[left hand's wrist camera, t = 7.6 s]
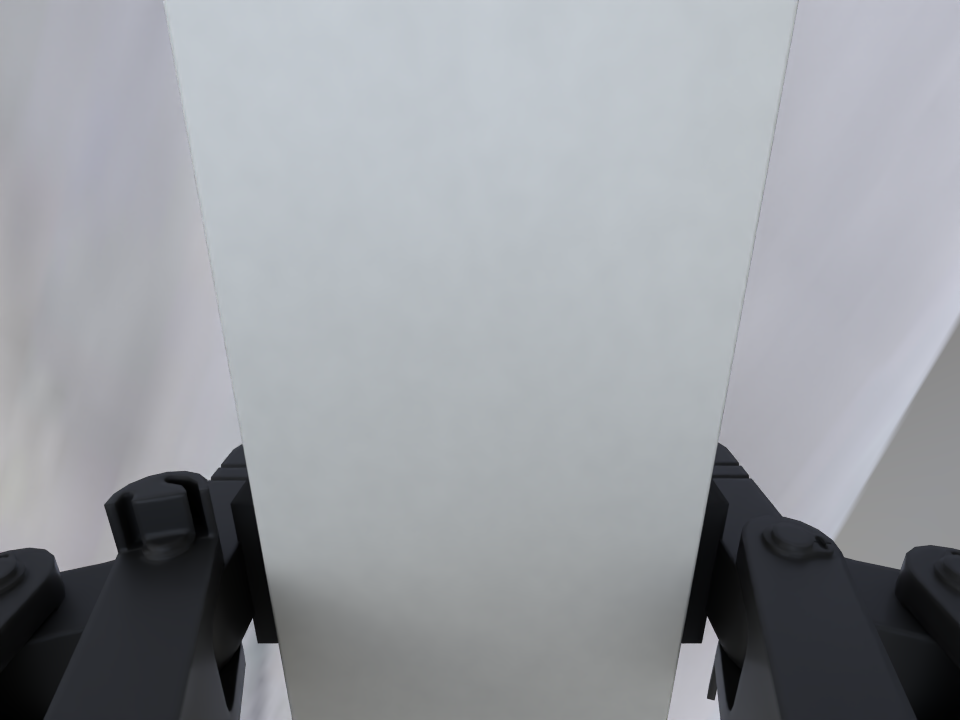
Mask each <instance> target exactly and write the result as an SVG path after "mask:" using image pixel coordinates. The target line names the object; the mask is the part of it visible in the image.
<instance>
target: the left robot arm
mask: <svg viewBox="0 0 960 720" xmlns="http://www.w3.org/2000/svg"><path fill="white" fill-rule="evenodd" d="M104 506H105V510H106V513H107V516H108V520H109V523H110V526H111V530H112V533H113V536H114V540H115V543H116V546H117V550H118V555H117V557H116V560H113V561H109V562H106V563H101V564H97V565H92V566H87V567H82V568H77V569H73V570H68V571H63V572H59V569H58V566H57V563H56V560H55V557H54V555H52V554H51V553H49V552H48V551H47V550H45V549H37V548H24V549H17V550H10V551H6V552H2V553H0V720H240V712H241V702H242V693H243V684H244V675H245V666H246V663H245V656H244V650H243V646H242V639H243V637H244V635H245V633H246V631H247V629H248V627H249V624H250V622H251V620H252V618H253V621H254V626H255V631H256V636H257V641H258V643H278V637H277V632H276V626H275V621H274V615H273V609H272V604H271V598H270V593H269V587H268V582H267V576H266V571H265V565H264V559H263V554H262V548H261V543H260V537H259V532H258V526H257V521H256V515H255V509H254V504H253V498H252V493H251V487H250V482H249V476H248V470H247V465H246V459H245V454H244V448H243V444H242V445H240V446H238V447H237V448H235V449H234V450H233V451H232V452H231V453H230V454H229V456H228V457H227V458H226V459H225V461H224V462H223V463H222V464H221V468H218V469H217V471H216V472H215V473H214V474H213V476H212V477H211V480H209V481H207V479H205V478H204V477H203V476H201V475H200V474H198V473H193V472H188V471H175V472H165V473H161V474H156V475H152V476H148V477H145V478H143V479H140V480H138V481H136V482H133V483H131V484H129V485H127V486H125V487H124V488H122V489H121V490H119V491H118V492H116V493H114V494H113V495H112V497H111V498H110V499H109V500H108V501H107V502H106V503H105V504H104ZM707 616H708V618H709V620H710V623H711V625H712V627H713V629H714V631H715V633H716V635H717V637H718V639H719V641H718V646H717V650H716V655H715V660H714V665H713V669H712V674H711V679H710V683H709V689H708V695H707V699H711V700H715V696H716V691H717V692H718V701H719V710H720V719H721V720H960V550H957V549H953V548H947V547H940V546H933V545H928V546H919V547H914V548H913V549H912V550H910V551H909V552H907V553H906V556H905V559H904V561H903V564H902V567H901V570H899V569H894V568H889V567H885V566H880V565H875V564H870V563H865V562H861V561H856V560H852V559H848V558H845V557H844V556H843V554H842V552H841V551H840V549H839V548H838V547H837V545H836V544H835V543H834V541H833V540H832V539H830V538H829V537H828V536H826V535H825V534H824V533H822V532H821V531H819V530H818V529H816V528H814V527H812V526H810V525H807V524H805V523H803V522H801V521H798V520H794V519H790V518H786V517H782V516H781V514H780V513H779V512H778V511H777V509H776V508H775V507H774V506H773V504H772V503H771V502H770V501H769V500H768V498H767V497H766V496H765V495H764V493H763V492H762V491H761V490H760V488H759V487H758V486H757V485H756V484H755V482H754V481H753V480H752V479H751V478H749V475H748V474H747V472H746V471H745V470H744V469H743V467H742V466H739V463H738V461H737V460H736V459H735V458H734V456H733V455H732V454H731V453H730V451H729V450H728V449H727V448H726V447H724V446H723V445H721V444H720V443H718V444H717V450H716V455H715V461H714V466H713V472H712V477H711V483H710V488H709V494H708V499H707V505H706V510H705V516H704V521H703V526H702V532H701V537H700V543H699V548H698V554H697V559H696V565H695V570H694V576H693V581H692V587H691V592H690V598H689V603H688V608H687V614H686V619H685V625H684V630H683V636H682V641H681V643H702V639H703V634H704V629H705V624H706V619H707Z"/></svg>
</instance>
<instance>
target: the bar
mask: <svg viewBox="0 0 960 720" xmlns="http://www.w3.org/2000/svg"><path fill="white" fill-rule="evenodd" d="M798 2H799V0H163V4H164V9H165V15H166V20H167V26H168V31H169V37H170V42H171V48H172V54H173V59H174V65H175V70H176V76H177V81H178V87H179V93H180V98H181V104H182V109H183V115H184V120H185V126H186V131H187V137H188V143H189V148H190V154H191V159H192V165H193V170H194V176H195V181H196V187H197V193H198V198H199V204H200V209H201V215H202V220H203V226H204V231H205V237H206V243H207V248H208V254H209V259H210V265H211V270H212V276H213V281H214V287H215V293H216V298H217V304H218V309H219V315H220V320H221V326H222V332H223V337H224V343H225V348H226V354H227V359H228V365H229V370H230V376H231V382H232V387H233V393H234V398H235V404H236V409H237V415H238V420H239V426H240V432H241V437H242V443H243V448H244V454H245V459H246V465H247V470H248V476H249V482H250V487H251V493H252V498H253V504H254V509H255V515H256V521H257V526H258V532H259V537H260V543H261V548H262V554H263V559H264V565H265V571H266V576H267V582H268V587H269V593H270V598H271V604H272V609H273V615H274V621H275V626H276V632H277V637H278V643H279V648H280V654H281V659H282V665H283V671H284V676H285V682H286V687H287V693H288V698H289V704H290V709H291V715H292V720H667V718H668V712H669V707H670V701H671V696H672V690H673V685H674V680H675V674H676V669H677V663H678V658H679V652H680V647H681V641H682V636H683V630H684V625H685V619H686V614H687V608H688V603H689V598H690V592H691V587H692V581H693V576H694V570H695V565H696V559H697V554H698V548H699V543H700V537H701V532H702V526H703V521H704V516H705V510H706V505H707V499H708V494H709V488H710V483H711V477H712V472H713V466H714V461H715V455H716V450H717V444H718V439H719V434H720V428H721V423H722V417H723V412H724V406H725V401H726V395H727V390H728V384H729V379H730V373H731V368H732V362H733V357H734V352H735V346H736V341H737V335H738V330H739V324H740V319H741V313H742V308H743V302H744V297H745V291H746V286H747V280H748V275H749V270H750V264H751V259H752V253H753V248H754V242H755V237H756V231H757V226H758V220H759V215H760V209H761V204H762V198H763V193H764V188H765V182H766V177H767V171H768V166H769V160H770V155H771V149H772V144H773V138H774V133H775V127H776V122H777V116H778V111H779V106H780V100H781V95H782V89H783V84H784V78H785V73H786V67H787V62H788V56H789V51H790V45H791V40H792V34H793V29H794V24H795V18H796V13H797V7H798Z"/></svg>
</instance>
